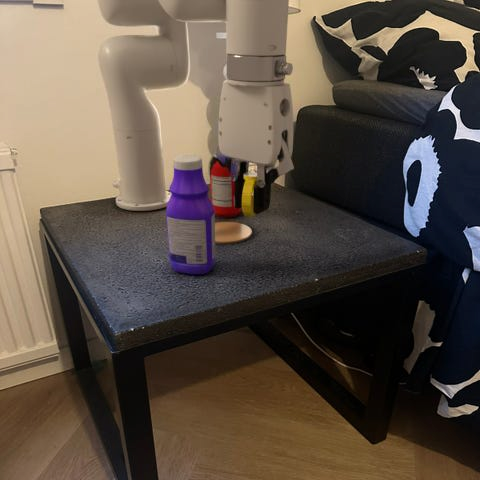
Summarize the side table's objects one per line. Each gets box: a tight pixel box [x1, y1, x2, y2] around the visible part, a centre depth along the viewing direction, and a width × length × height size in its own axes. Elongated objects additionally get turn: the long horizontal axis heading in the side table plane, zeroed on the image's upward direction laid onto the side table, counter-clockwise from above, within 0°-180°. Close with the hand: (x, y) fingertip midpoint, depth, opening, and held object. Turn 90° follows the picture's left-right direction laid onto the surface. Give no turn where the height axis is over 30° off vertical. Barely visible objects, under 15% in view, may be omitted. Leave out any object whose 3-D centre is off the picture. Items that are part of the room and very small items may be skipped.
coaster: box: [215, 221, 253, 245], centre depth 89 cm, size 10×10×1 cm
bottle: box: [165, 154, 216, 275], centre depth 72 cm, size 7×6×17 cm
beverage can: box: [209, 151, 242, 219], centre depth 95 cm, size 6×6×12 cm
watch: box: [241, 171, 258, 218], centre depth 70 cm, size 6×3×6 cm, turn 162°
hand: (251, 207), depth 71 cm, fingers closed on watch, 2 cm apart
